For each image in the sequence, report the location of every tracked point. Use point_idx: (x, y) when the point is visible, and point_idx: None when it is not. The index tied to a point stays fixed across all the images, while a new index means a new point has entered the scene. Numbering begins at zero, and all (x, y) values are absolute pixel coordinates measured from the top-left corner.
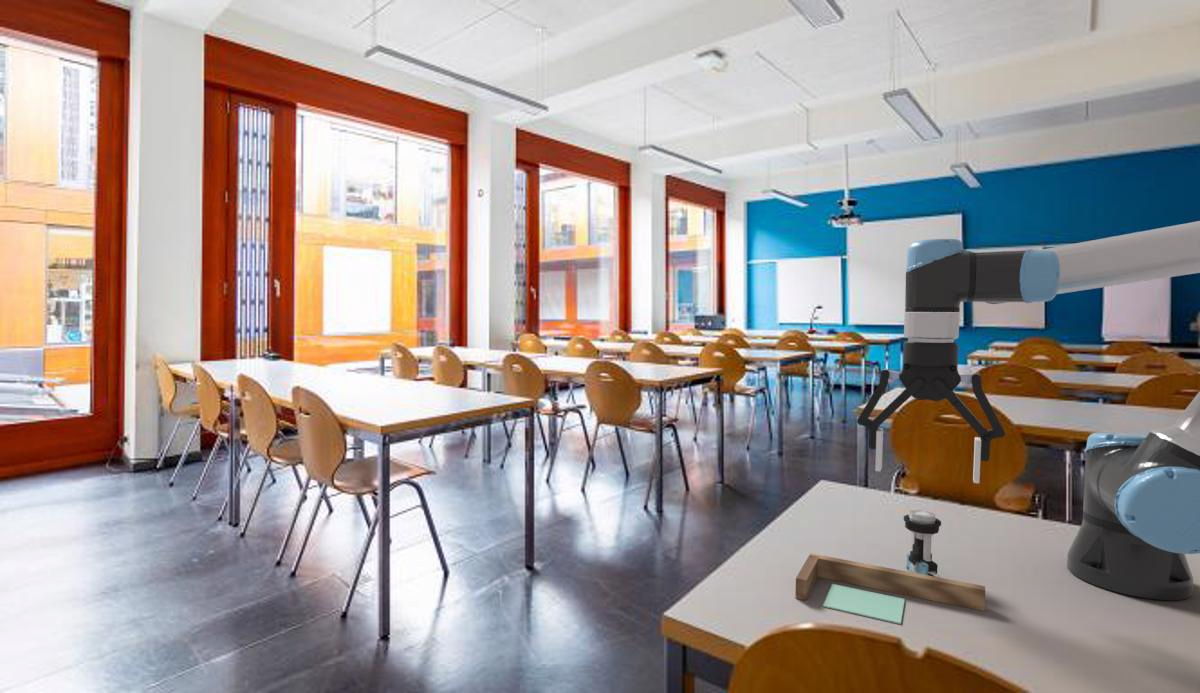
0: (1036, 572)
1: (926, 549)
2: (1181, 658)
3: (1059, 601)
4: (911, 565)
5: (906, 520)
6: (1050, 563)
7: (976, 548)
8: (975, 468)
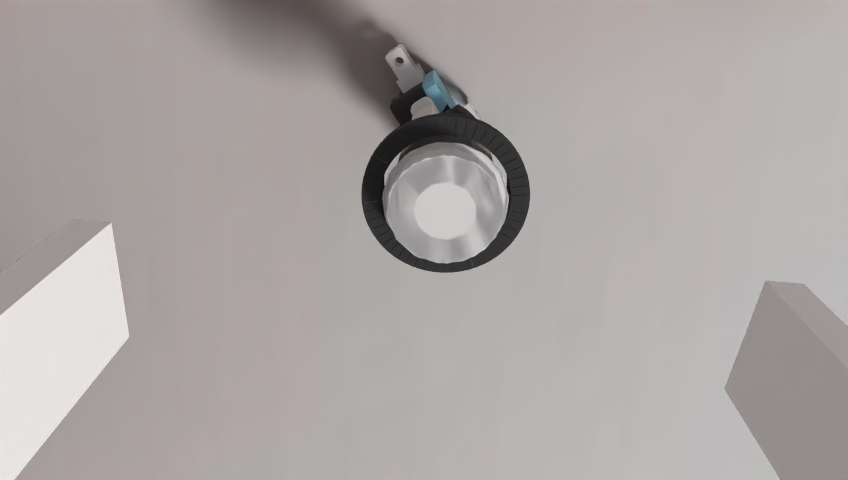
0: None
1: (428, 113)
2: None
3: (43, 85)
4: (477, 116)
5: (520, 158)
6: None
7: (273, 407)
8: (33, 279)
